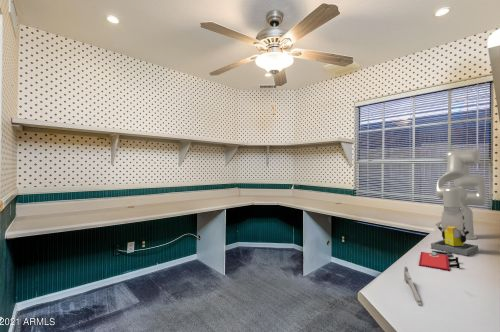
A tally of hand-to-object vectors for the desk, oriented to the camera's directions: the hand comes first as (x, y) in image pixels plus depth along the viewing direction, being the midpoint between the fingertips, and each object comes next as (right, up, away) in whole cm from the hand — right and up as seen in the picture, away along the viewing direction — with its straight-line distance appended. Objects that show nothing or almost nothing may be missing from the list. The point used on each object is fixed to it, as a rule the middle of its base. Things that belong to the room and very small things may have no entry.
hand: (453, 240), depth 136 cm
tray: (0, -5, 0) cm, 5 cm away
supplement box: (0, -3, 0) cm, 3 cm away
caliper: (-56, -4, -48) cm, 74 cm away
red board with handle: (-21, -6, -16) cm, 27 cm away
